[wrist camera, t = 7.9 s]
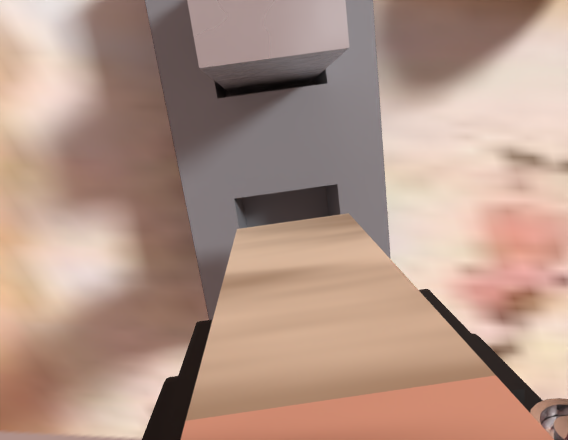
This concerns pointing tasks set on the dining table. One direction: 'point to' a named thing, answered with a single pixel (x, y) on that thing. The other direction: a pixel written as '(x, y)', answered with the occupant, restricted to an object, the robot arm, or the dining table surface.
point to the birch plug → (338, 349)
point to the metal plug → (267, 41)
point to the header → (272, 142)
